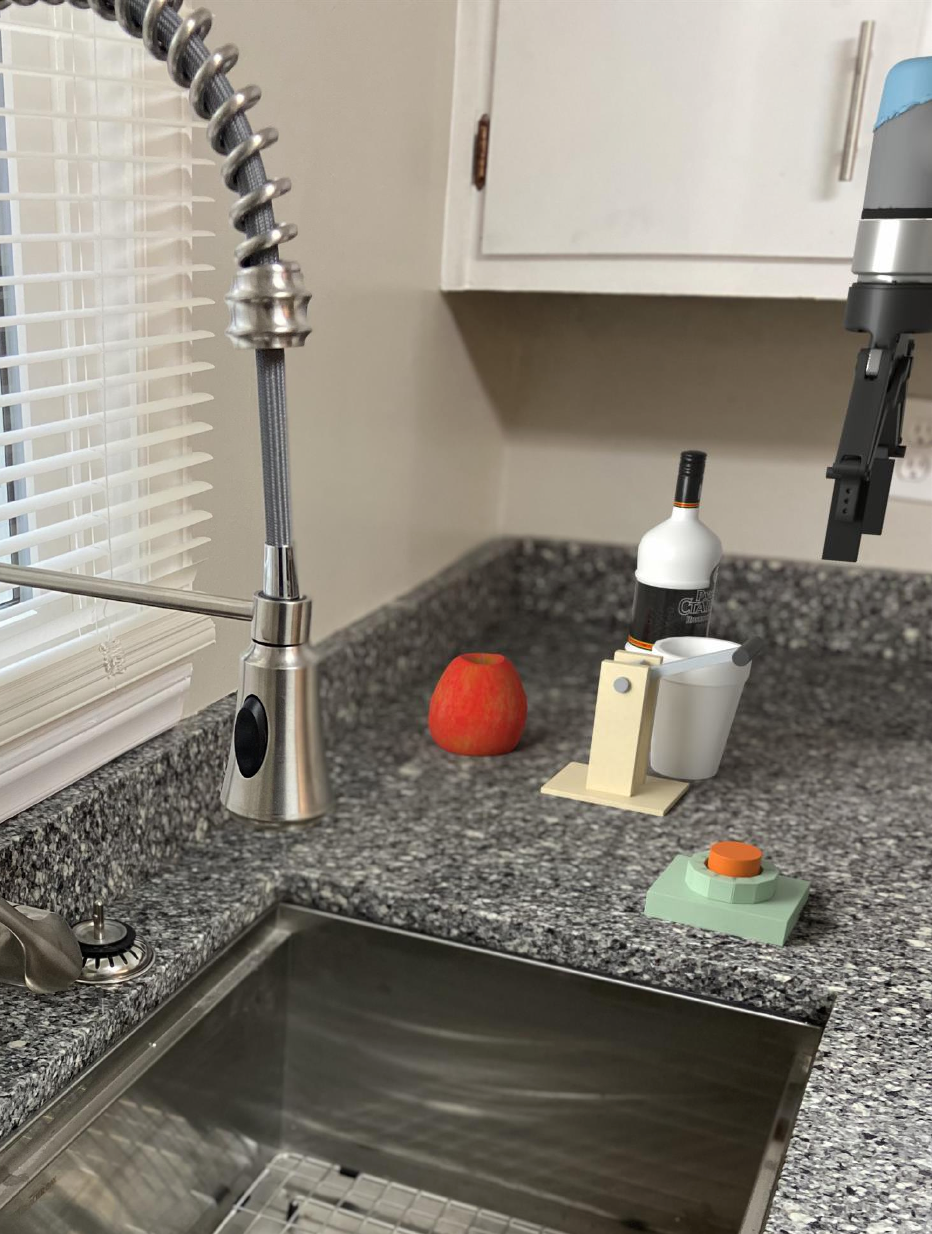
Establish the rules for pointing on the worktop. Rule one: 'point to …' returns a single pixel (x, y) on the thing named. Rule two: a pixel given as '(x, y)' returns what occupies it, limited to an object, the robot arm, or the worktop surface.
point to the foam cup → (694, 709)
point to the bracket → (621, 743)
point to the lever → (709, 659)
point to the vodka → (676, 567)
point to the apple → (478, 706)
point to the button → (734, 859)
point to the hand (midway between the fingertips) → (852, 547)
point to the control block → (728, 899)
